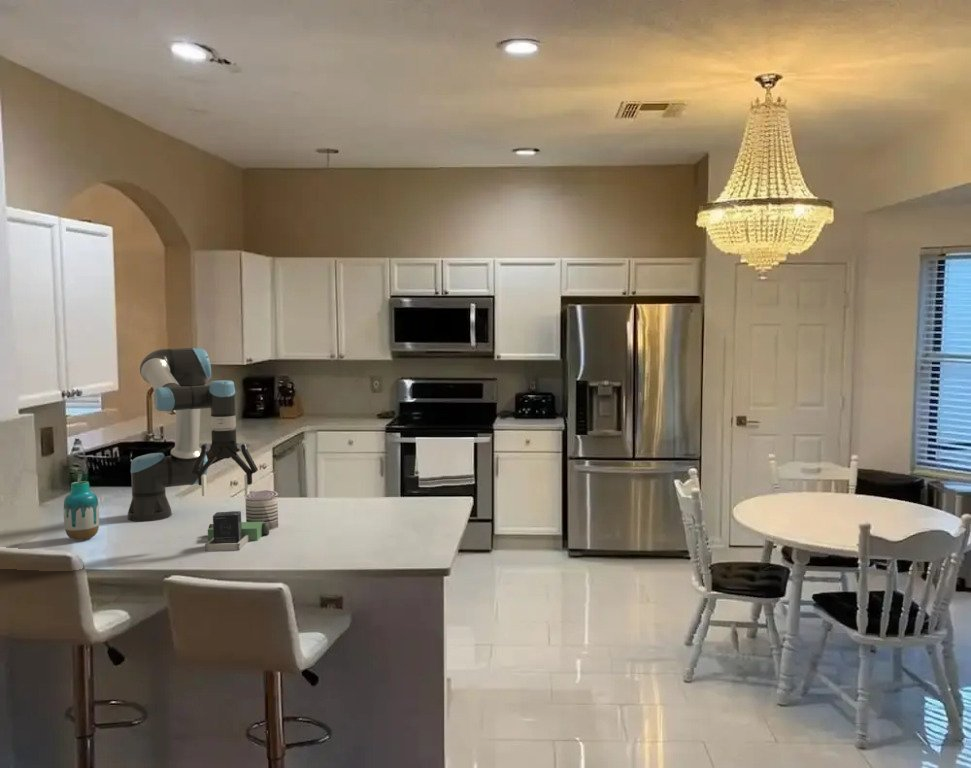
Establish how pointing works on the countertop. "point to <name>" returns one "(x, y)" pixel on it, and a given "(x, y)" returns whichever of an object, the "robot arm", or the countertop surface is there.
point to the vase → (81, 512)
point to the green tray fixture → (249, 533)
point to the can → (262, 507)
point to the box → (227, 527)
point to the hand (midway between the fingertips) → (225, 495)
